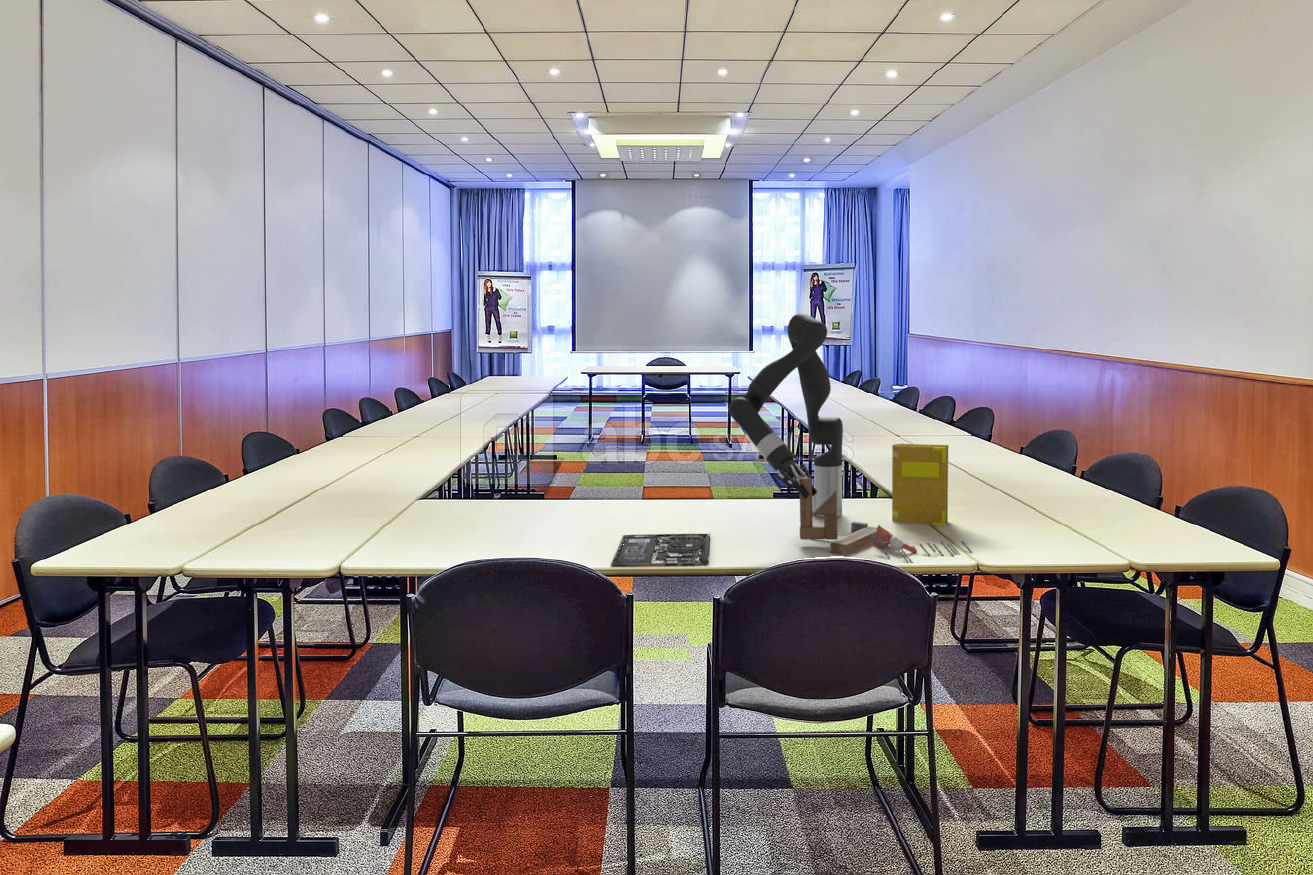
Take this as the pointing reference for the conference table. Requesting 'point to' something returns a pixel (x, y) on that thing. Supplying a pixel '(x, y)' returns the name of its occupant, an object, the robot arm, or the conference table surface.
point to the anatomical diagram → (903, 543)
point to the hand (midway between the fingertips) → (811, 495)
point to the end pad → (828, 539)
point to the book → (920, 484)
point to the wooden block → (825, 508)
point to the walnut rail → (854, 539)
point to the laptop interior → (663, 550)
